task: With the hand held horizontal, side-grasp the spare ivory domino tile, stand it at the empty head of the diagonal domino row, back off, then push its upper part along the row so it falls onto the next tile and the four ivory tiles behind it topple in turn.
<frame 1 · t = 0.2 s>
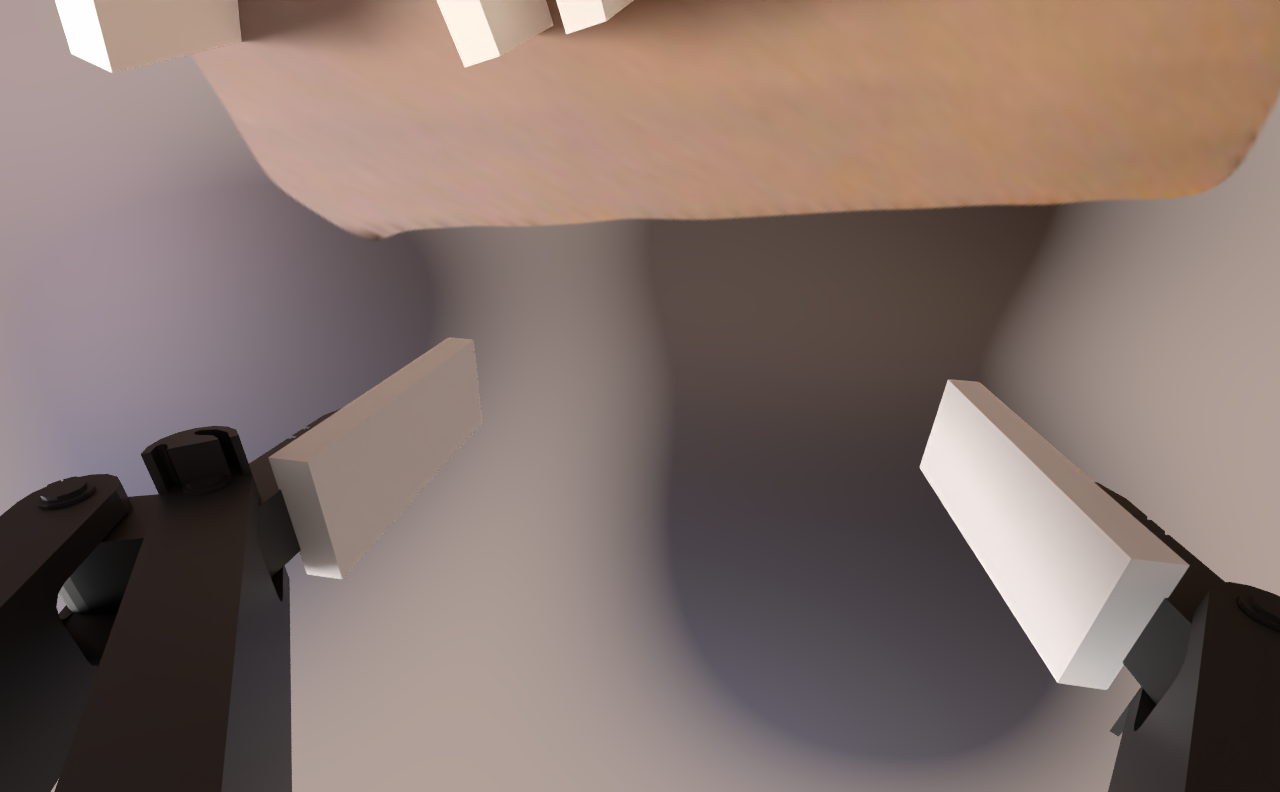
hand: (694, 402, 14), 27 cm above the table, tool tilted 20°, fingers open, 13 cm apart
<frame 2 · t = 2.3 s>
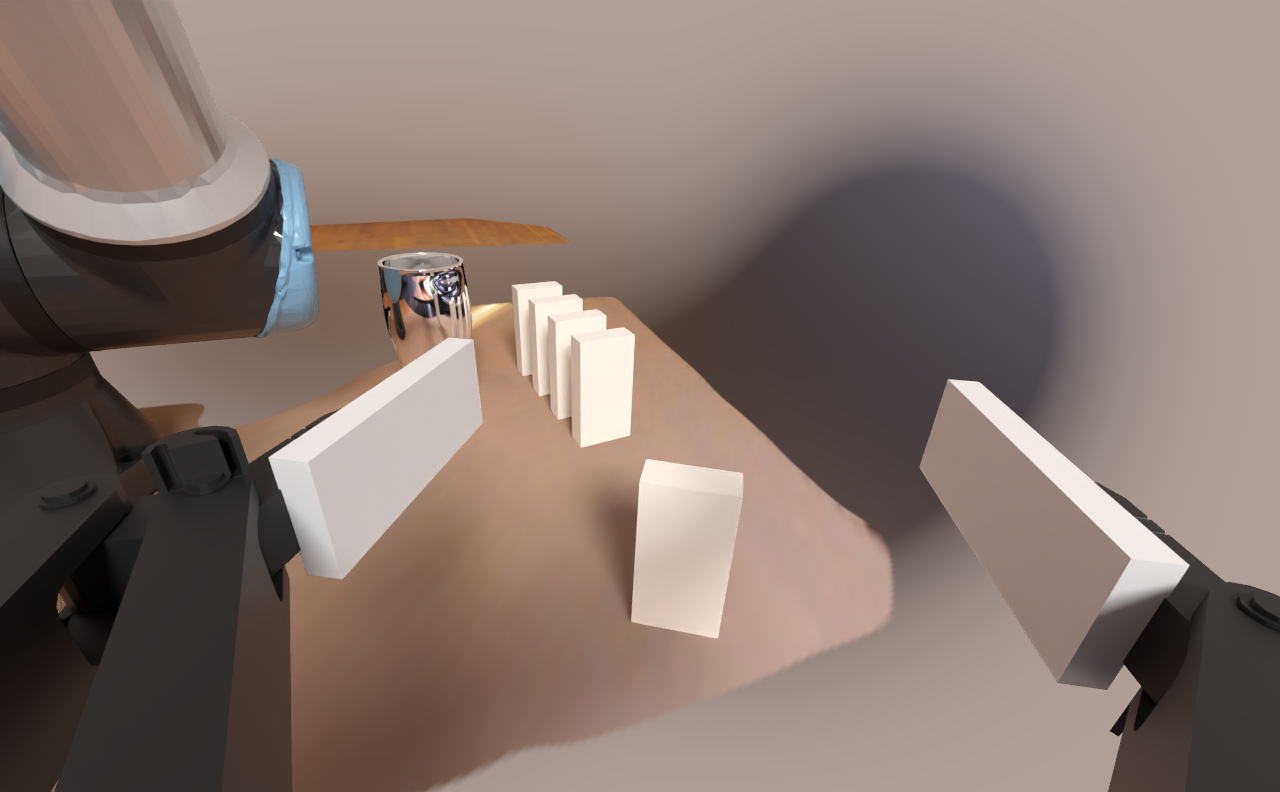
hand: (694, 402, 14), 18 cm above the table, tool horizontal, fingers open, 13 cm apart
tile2: (601, 436, 47), on the table
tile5: (540, 369, 60), on the table
silver metal tumbler: (444, 420, 49), on the table
tile3: (577, 410, 51), on the table
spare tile: (676, 615, 30), on the table
tile4: (558, 388, 56), on the table
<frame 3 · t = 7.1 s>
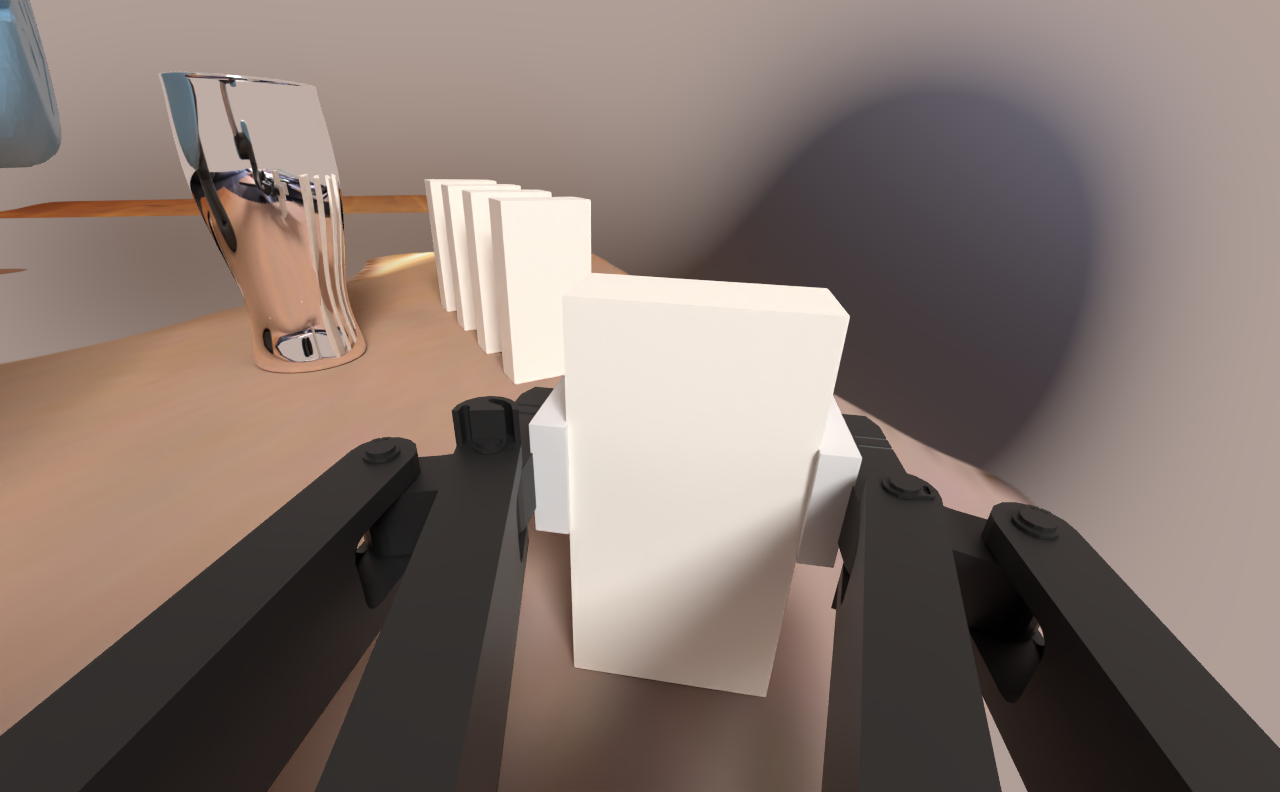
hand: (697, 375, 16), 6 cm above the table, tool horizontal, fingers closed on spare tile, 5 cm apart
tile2: (548, 371, 31), on the table
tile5: (474, 305, 44), on the table
silver metal tumbler: (314, 357, 33), on the table
tile3: (517, 344, 36), on the table
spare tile: (671, 648, 14), on the table, touching gripper
tile4: (493, 322, 40), on the table
when the fingers open (7 cm above the table, at t = 11.8 s): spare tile stays where it is, on the table.
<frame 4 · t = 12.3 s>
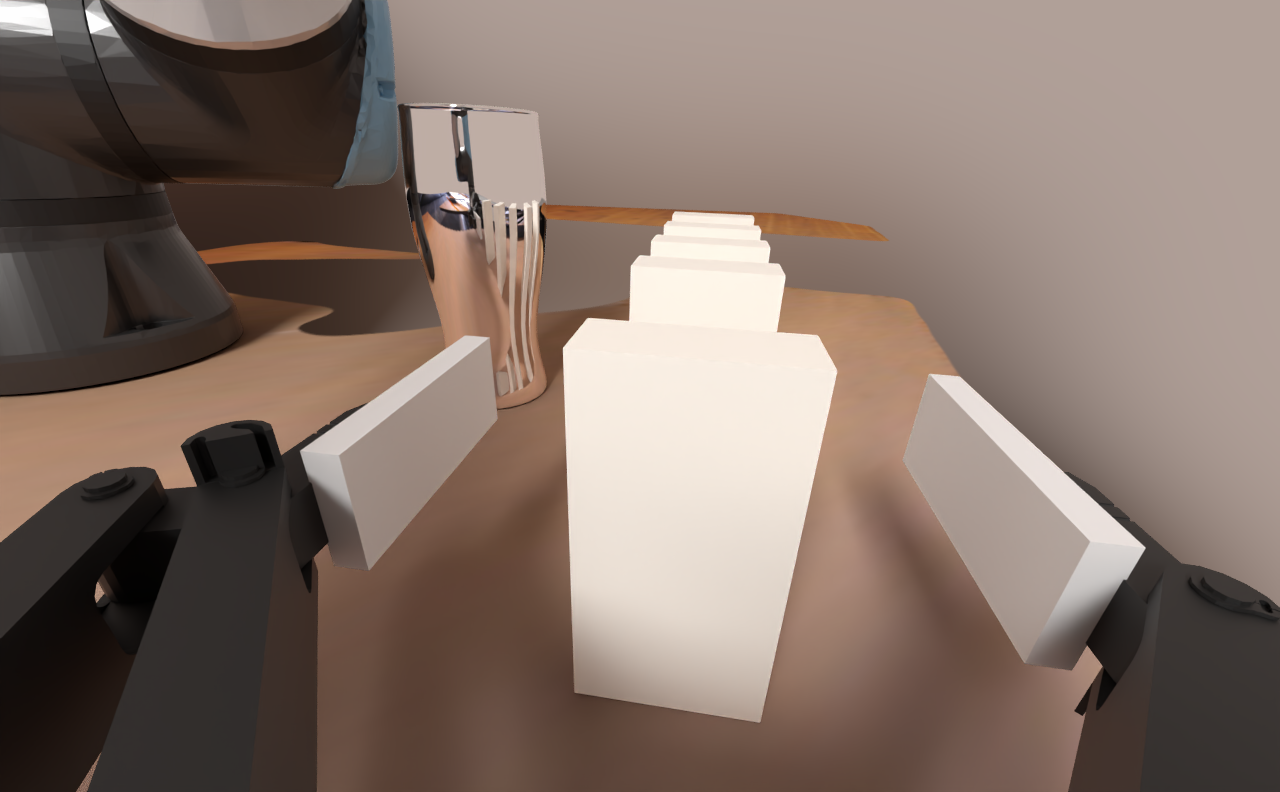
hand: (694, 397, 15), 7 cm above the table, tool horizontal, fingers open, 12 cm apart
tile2: (686, 501, 22), on the table
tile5: (699, 361, 36), on the table
silver metal tumbler: (497, 390, 31), on the table
tile3: (692, 437, 27), on the table
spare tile: (668, 673, 14), on the table
tile4: (696, 394, 31), on the table
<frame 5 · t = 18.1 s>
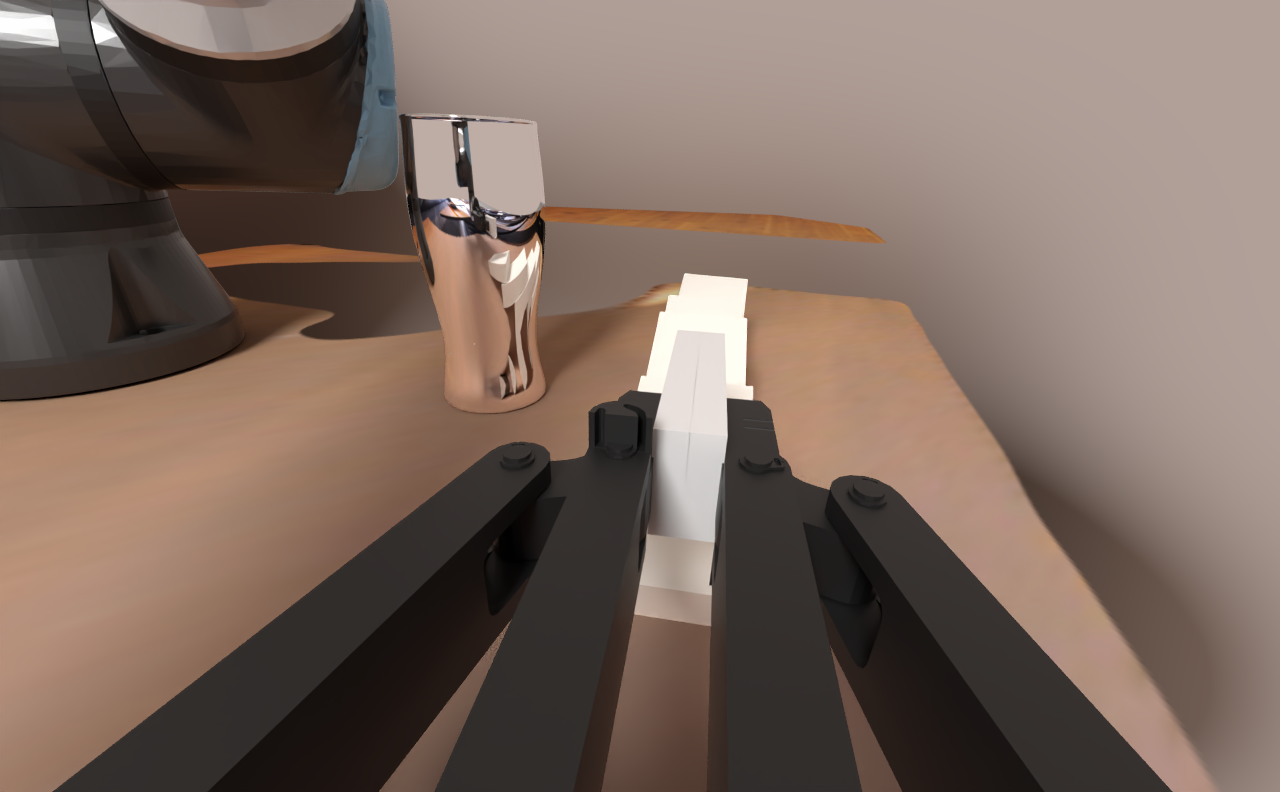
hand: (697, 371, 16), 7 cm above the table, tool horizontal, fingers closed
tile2: (685, 465, 23), point 1 cm above the table, tilted 69°, touching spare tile, tile3
silver metal tumbler: (496, 394, 32), on the table
tile3: (691, 412, 28), point 1 cm above the table, tilted 71°, touching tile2, tile4
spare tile: (669, 605, 16), point 1 cm above the table, tilted 74°, touching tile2
tile4: (699, 366, 34), point 1 cm above the table, tilted 71°, touching tile3, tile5
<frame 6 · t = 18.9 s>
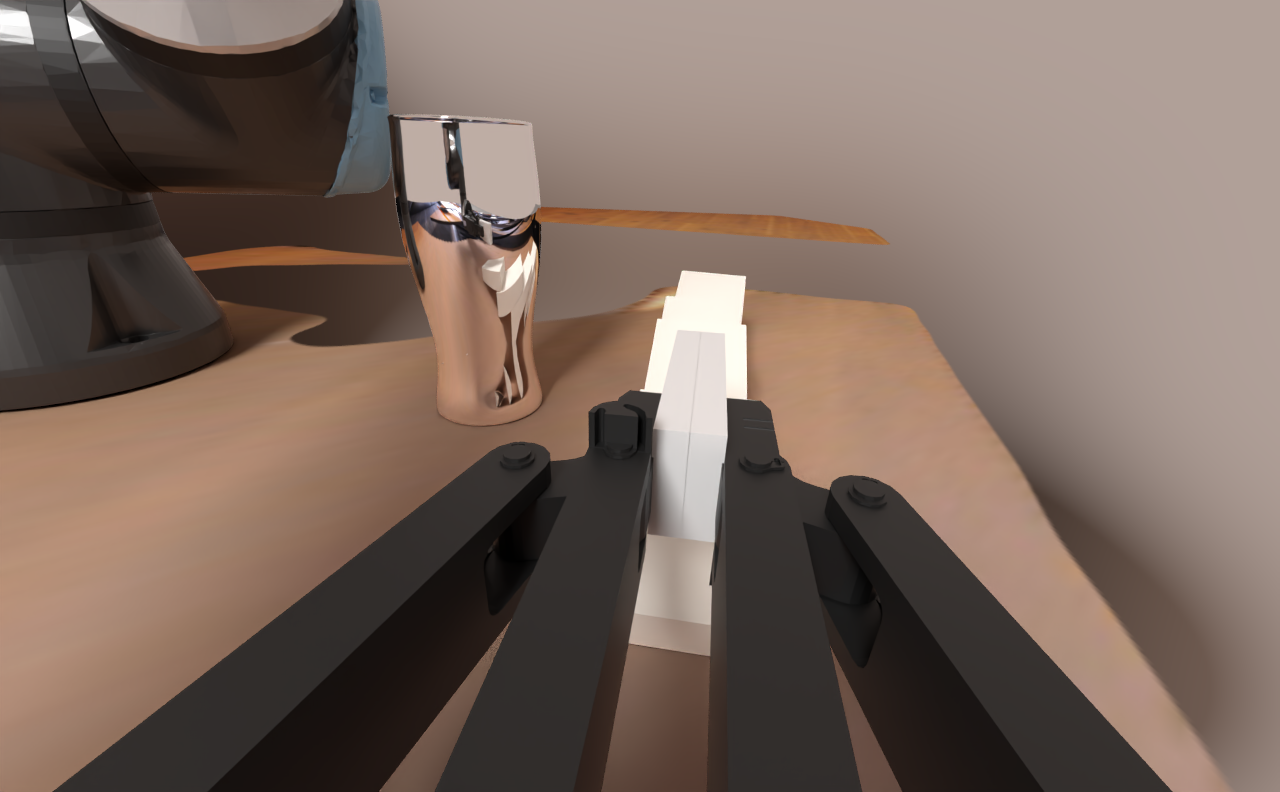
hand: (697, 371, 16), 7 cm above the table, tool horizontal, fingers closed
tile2: (687, 477, 23), point 1 cm above the table, tilted 69°, touching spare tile, tile3
silver metal tumbler: (491, 405, 31), on the table
tile3: (692, 417, 28), point 1 cm above the table, tilted 70°, touching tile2
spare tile: (671, 635, 15), point 1 cm above the table, tilted 75°, touching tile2
tile4: (698, 366, 34), point 1 cm above the table, tilted 70°
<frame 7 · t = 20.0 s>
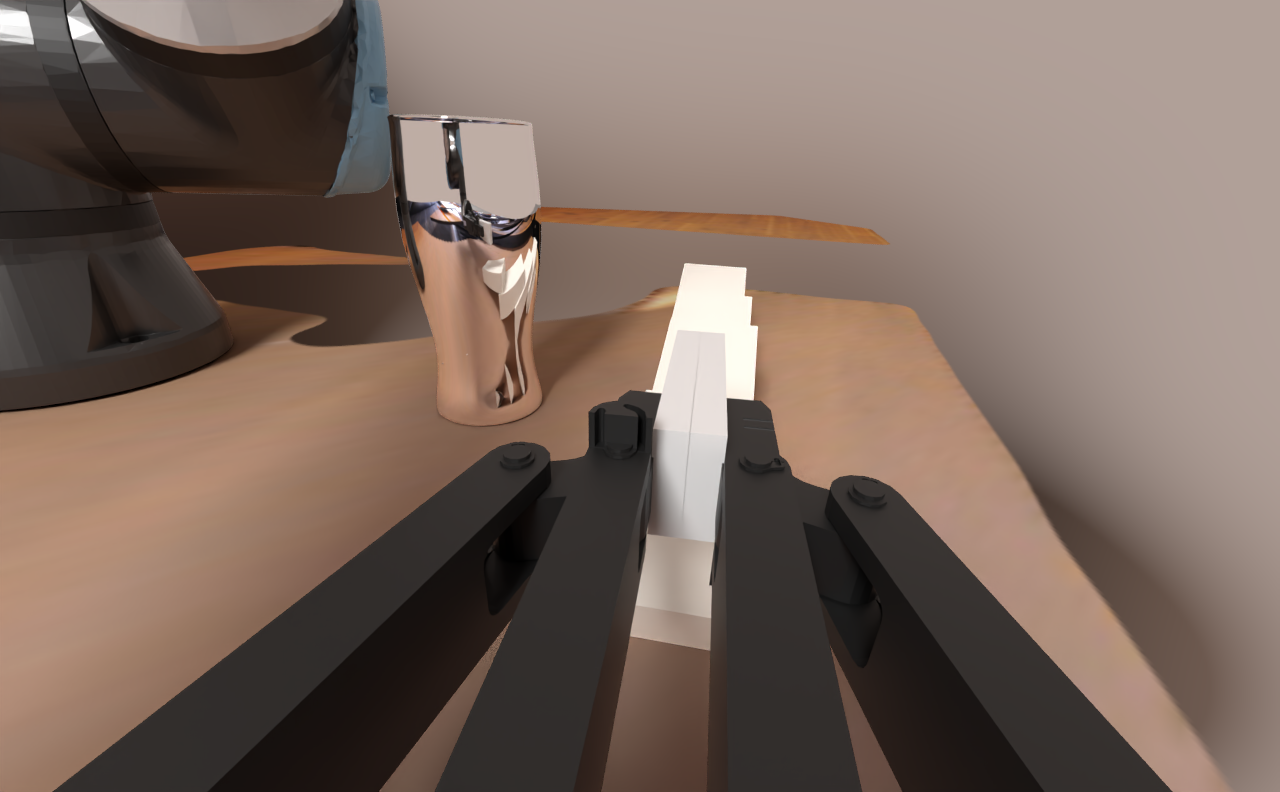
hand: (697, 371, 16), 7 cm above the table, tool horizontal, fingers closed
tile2: (691, 469, 23), point 1 cm above the table, tilted 71°, touching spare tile, tile3
silver metal tumbler: (491, 405, 31), on the table
tile3: (698, 408, 29), point 1 cm above the table, tilted 70°, touching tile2, tile4
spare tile: (669, 627, 15), point 1 cm above the table, tilted 76°, touching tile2
tile4: (702, 354, 35), point 1 cm above the table, tilted 70°, touching tile3
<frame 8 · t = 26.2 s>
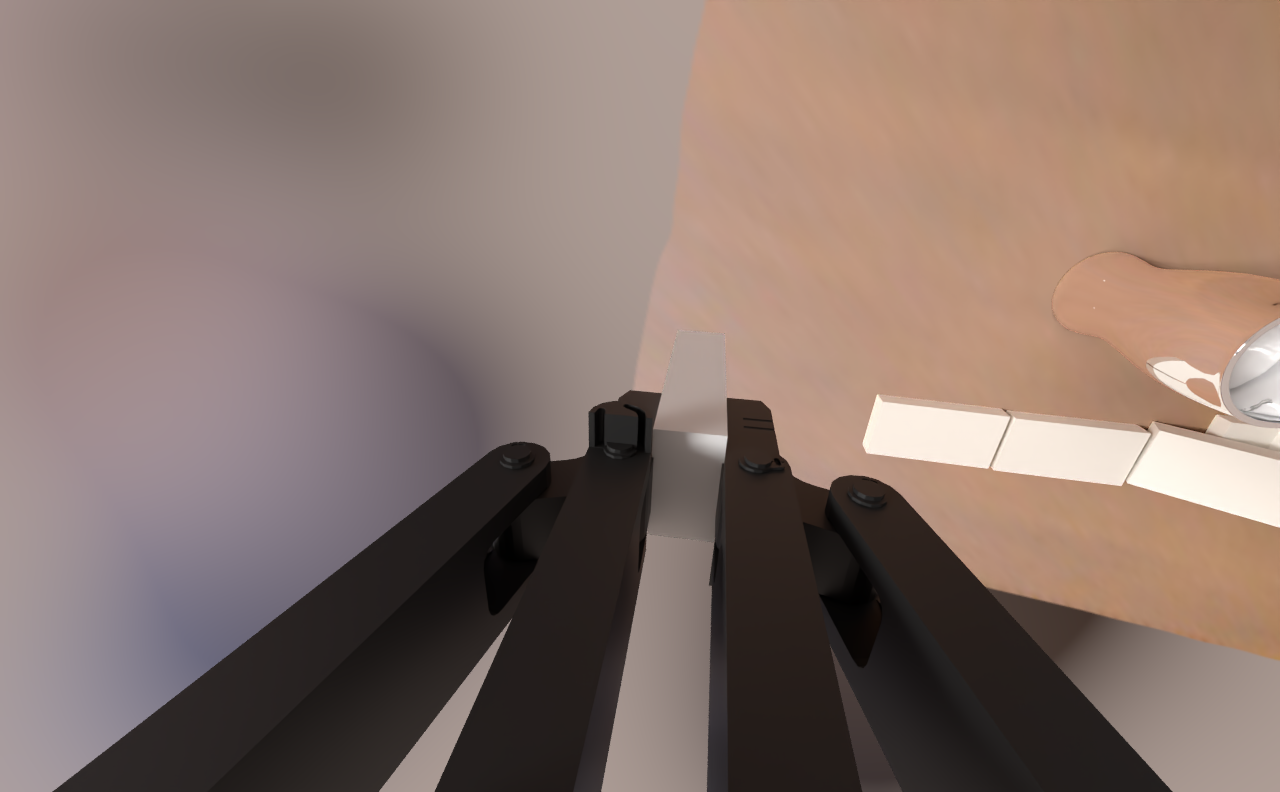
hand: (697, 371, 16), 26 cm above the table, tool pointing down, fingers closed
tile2: (998, 439, 43), on the table, tilted 90°
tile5: (1203, 443, 41), on the table, tilted 90°, touching tile4
silver metal tumbler: (1096, 292, 38), on the table
tile3: (1139, 452, 41), point 1 cm above the table, tilted 66°
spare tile: (871, 422, 44), on the table, tilted 90°
tile4: (1275, 461, 39), point 2 cm above the table, tilted 90°, touching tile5
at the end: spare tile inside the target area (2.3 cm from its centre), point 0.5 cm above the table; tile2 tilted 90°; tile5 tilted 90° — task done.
